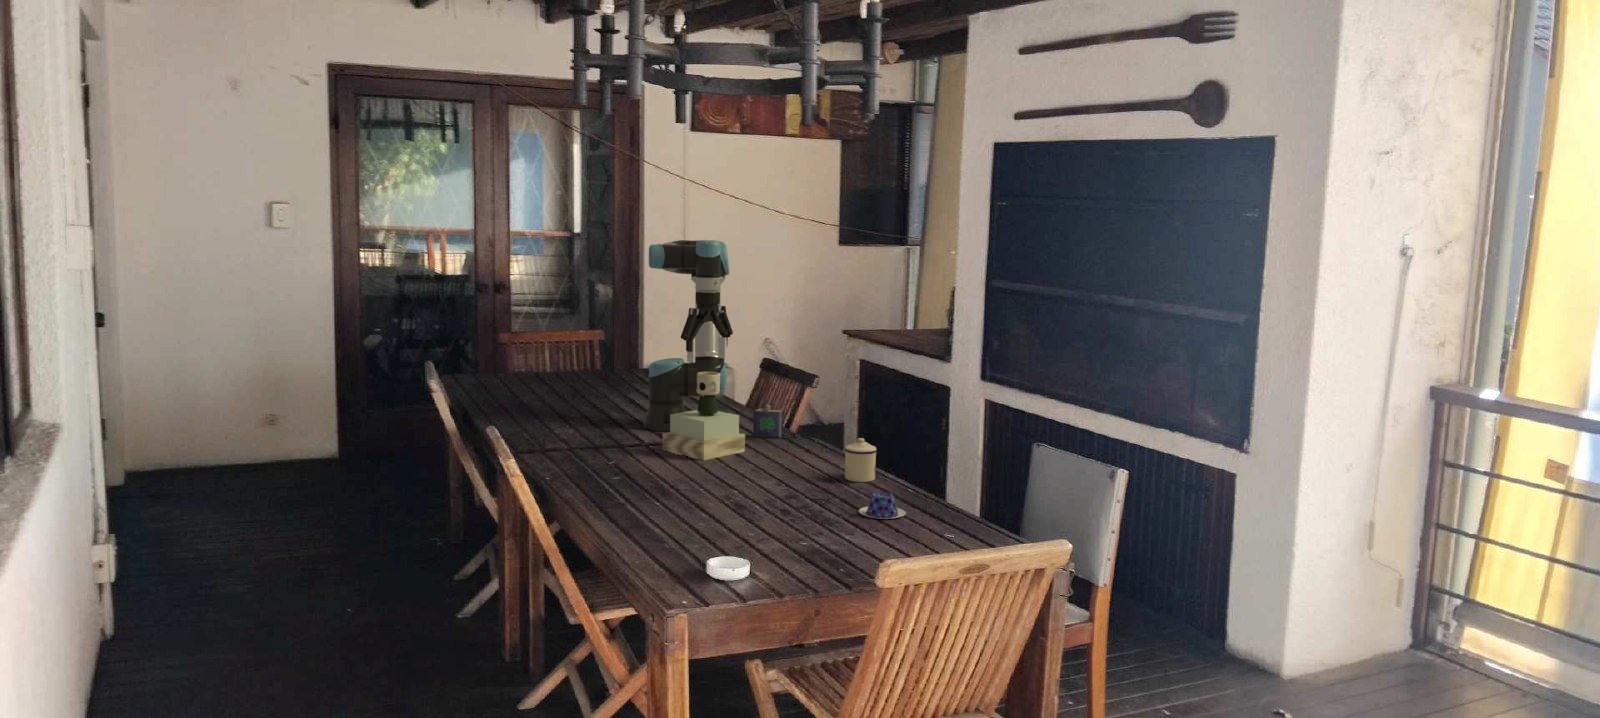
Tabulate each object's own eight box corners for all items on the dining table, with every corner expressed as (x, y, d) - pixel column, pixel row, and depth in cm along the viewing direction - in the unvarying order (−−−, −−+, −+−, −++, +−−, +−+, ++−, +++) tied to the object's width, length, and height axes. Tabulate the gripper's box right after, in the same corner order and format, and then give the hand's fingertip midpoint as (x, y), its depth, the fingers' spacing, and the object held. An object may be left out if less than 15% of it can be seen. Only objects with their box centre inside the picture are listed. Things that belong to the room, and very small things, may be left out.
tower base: (662, 452, 368) (662, 433, 367) (703, 444, 382) (703, 425, 381) (703, 462, 357) (704, 442, 356) (744, 453, 370) (745, 434, 369)
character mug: (689, 412, 371) (690, 371, 369) (710, 410, 374) (711, 370, 372) (704, 418, 361) (705, 376, 360) (725, 417, 365) (726, 375, 363)
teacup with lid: (881, 480, 337) (883, 440, 335) (854, 483, 332) (855, 443, 331) (860, 471, 347) (861, 432, 345) (833, 474, 343) (834, 434, 341)
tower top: (670, 433, 368) (670, 414, 367) (705, 427, 379) (705, 408, 378) (704, 441, 358) (704, 421, 357) (738, 434, 369) (739, 415, 368)
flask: (781, 436, 394) (782, 404, 392) (780, 438, 391) (781, 406, 390) (753, 435, 394) (754, 403, 393) (752, 437, 392) (753, 405, 390)
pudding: (859, 520, 296) (860, 500, 295) (857, 508, 308) (857, 488, 307) (907, 521, 296) (908, 501, 295) (903, 508, 308) (904, 489, 307)
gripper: (686, 294, 350) (686, 365, 353) (744, 290, 369) (743, 357, 372) (669, 292, 355) (668, 362, 358) (727, 288, 374) (726, 355, 377)
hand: (706, 360), depth 365 cm, fingers open, 13 cm apart
